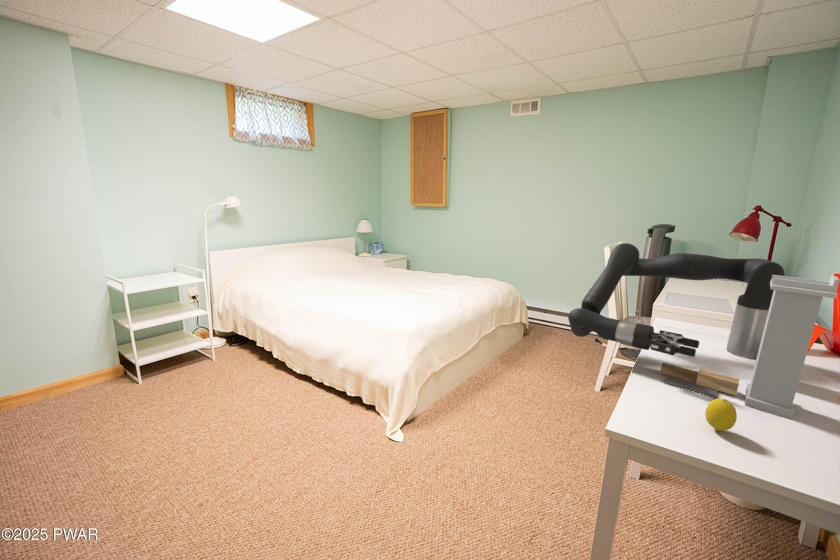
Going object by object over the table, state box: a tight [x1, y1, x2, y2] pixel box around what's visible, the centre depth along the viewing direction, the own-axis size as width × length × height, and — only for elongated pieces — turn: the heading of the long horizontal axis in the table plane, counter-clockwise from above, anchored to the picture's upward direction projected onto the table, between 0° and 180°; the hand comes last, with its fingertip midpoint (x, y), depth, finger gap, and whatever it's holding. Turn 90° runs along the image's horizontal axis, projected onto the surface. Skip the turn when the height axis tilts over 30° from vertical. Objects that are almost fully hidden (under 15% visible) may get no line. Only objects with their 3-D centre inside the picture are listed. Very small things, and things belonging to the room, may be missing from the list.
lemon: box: [704, 398, 738, 432], centre depth 87 cm, size 6×6×8 cm
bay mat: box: [663, 375, 718, 400], centre depth 111 cm, size 14×12×1 cm
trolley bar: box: [659, 362, 740, 396], centre depth 109 cm, size 4×18×4 cm, turn 49°
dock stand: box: [744, 275, 840, 420], centre depth 96 cm, size 11×11×35 cm
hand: (697, 348), depth 109 cm, fingers open, 8 cm apart
